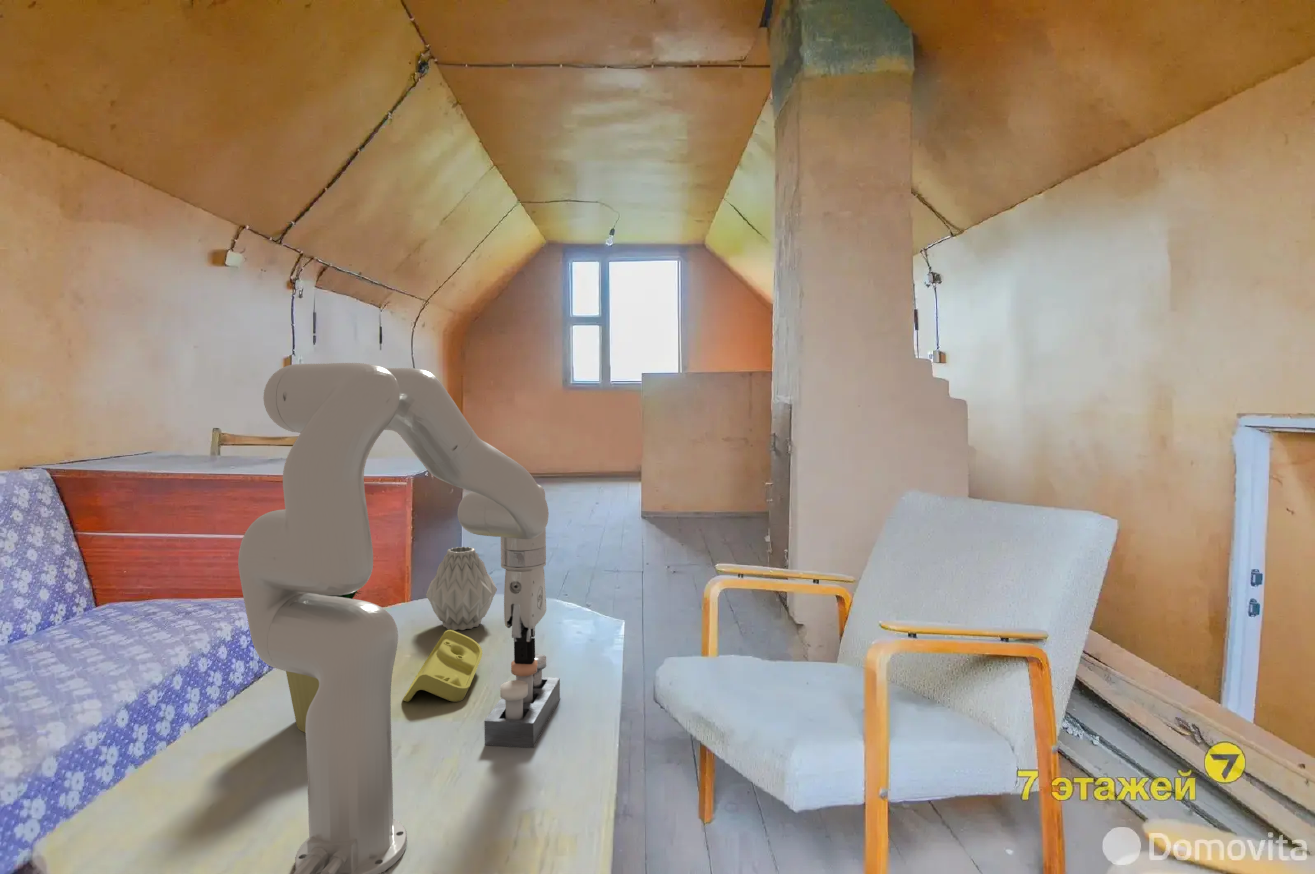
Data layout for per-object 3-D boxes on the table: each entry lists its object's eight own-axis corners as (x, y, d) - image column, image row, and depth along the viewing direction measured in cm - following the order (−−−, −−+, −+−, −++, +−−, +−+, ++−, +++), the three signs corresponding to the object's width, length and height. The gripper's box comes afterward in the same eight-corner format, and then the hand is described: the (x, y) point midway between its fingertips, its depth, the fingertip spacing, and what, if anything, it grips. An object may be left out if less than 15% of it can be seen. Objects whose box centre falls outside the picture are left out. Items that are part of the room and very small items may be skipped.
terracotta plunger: (533, 716, 122) (533, 667, 121) (508, 715, 122) (507, 666, 122) (540, 705, 126) (540, 658, 126) (516, 704, 127) (515, 657, 126)
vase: (510, 621, 177) (510, 546, 175) (459, 641, 163) (458, 560, 162) (463, 610, 185) (462, 539, 184) (411, 628, 171) (410, 551, 170)
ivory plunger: (523, 743, 116) (523, 691, 116) (497, 741, 117) (496, 690, 116) (531, 730, 121) (530, 680, 120) (505, 729, 121) (505, 679, 120)
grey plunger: (543, 710, 128) (542, 663, 127) (518, 708, 129) (518, 662, 128) (549, 699, 132) (548, 654, 132) (525, 698, 133) (525, 653, 132)
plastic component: (467, 691, 131) (415, 670, 130) (450, 726, 132) (399, 705, 131) (486, 644, 150) (442, 625, 149) (472, 675, 151) (427, 656, 150)
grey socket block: (533, 747, 115) (533, 723, 115) (484, 744, 116) (484, 720, 116) (559, 699, 133) (559, 677, 133) (517, 697, 134) (517, 675, 134)
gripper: (533, 568, 115) (534, 680, 116) (555, 547, 130) (556, 647, 131) (487, 567, 116) (489, 678, 117) (514, 546, 130) (516, 645, 132)
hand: (524, 661), depth 124 cm, fingers closed
